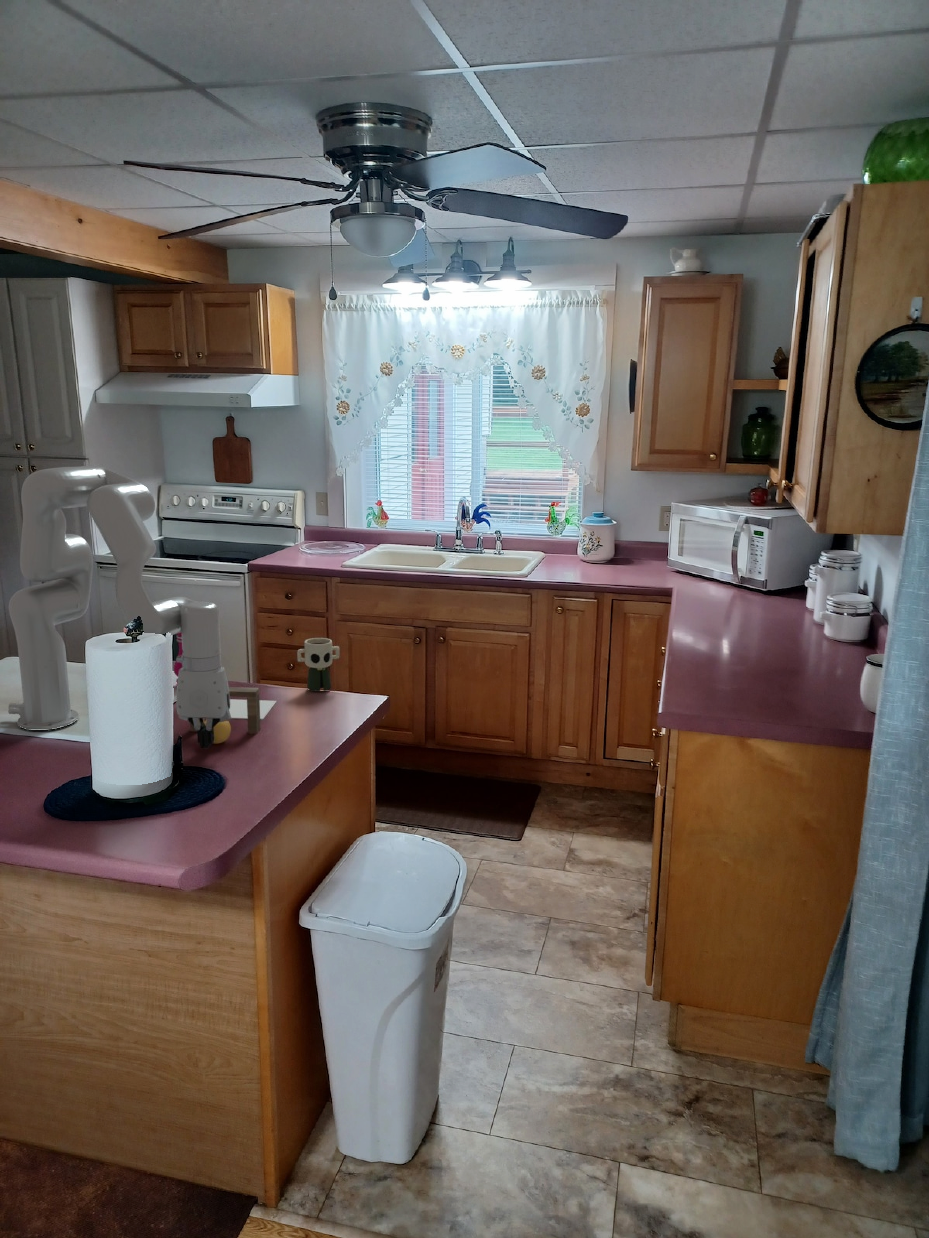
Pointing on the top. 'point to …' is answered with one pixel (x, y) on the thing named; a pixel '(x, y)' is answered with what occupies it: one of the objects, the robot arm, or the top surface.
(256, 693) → the bridge
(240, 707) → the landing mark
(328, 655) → the character mug
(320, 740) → the top surface
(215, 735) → the ball
